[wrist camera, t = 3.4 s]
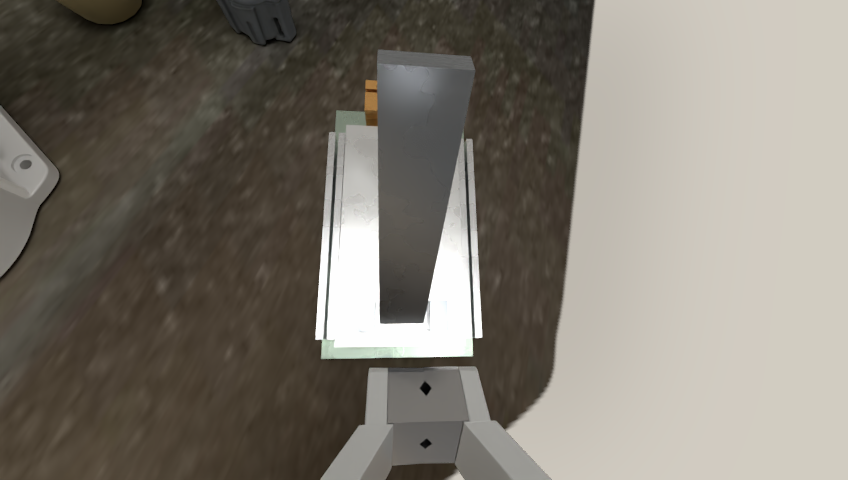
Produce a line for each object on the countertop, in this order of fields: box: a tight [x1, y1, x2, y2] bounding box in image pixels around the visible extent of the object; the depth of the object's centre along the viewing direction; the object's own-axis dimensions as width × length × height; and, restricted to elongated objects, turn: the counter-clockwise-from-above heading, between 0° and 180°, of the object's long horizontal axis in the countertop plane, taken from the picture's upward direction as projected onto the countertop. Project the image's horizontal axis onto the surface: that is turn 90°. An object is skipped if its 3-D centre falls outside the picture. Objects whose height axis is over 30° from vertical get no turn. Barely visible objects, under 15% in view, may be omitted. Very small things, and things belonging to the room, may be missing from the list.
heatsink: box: [315, 80, 482, 359], centre depth 28 cm, size 22×12×8 cm, turn 1°
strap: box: [377, 50, 475, 324], centre depth 18 cm, size 18×3×1 cm
